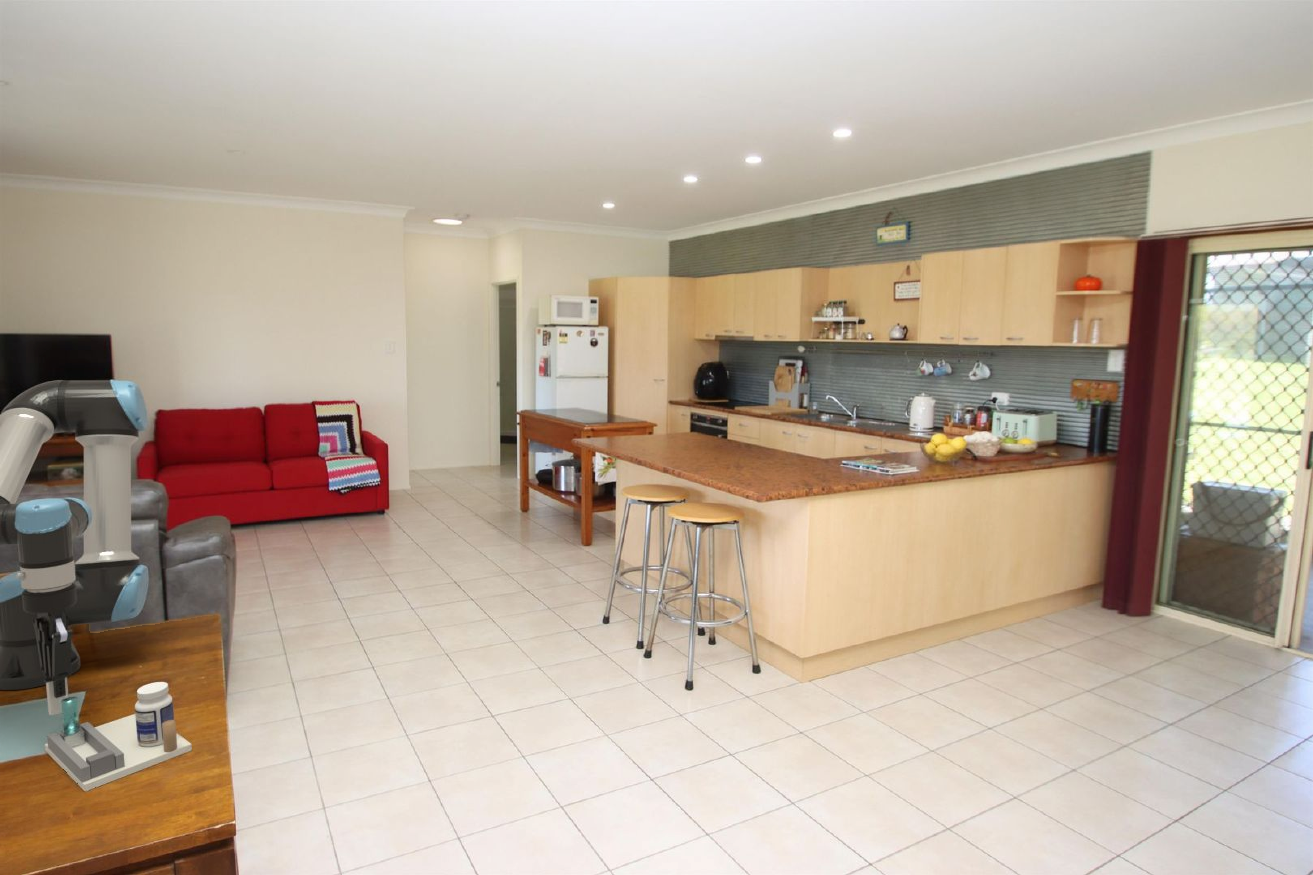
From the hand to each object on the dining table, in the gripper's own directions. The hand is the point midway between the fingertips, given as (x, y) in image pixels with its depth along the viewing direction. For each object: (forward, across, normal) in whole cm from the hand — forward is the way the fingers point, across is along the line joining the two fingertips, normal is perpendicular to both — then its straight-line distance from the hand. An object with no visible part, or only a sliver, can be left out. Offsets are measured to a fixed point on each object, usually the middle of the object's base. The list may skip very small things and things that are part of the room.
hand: (59, 711), depth 137 cm
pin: (+4, +6, 0) cm, 7 cm away
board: (+6, +12, +5) cm, 14 cm away
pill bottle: (+5, +15, +10) cm, 19 cm away
